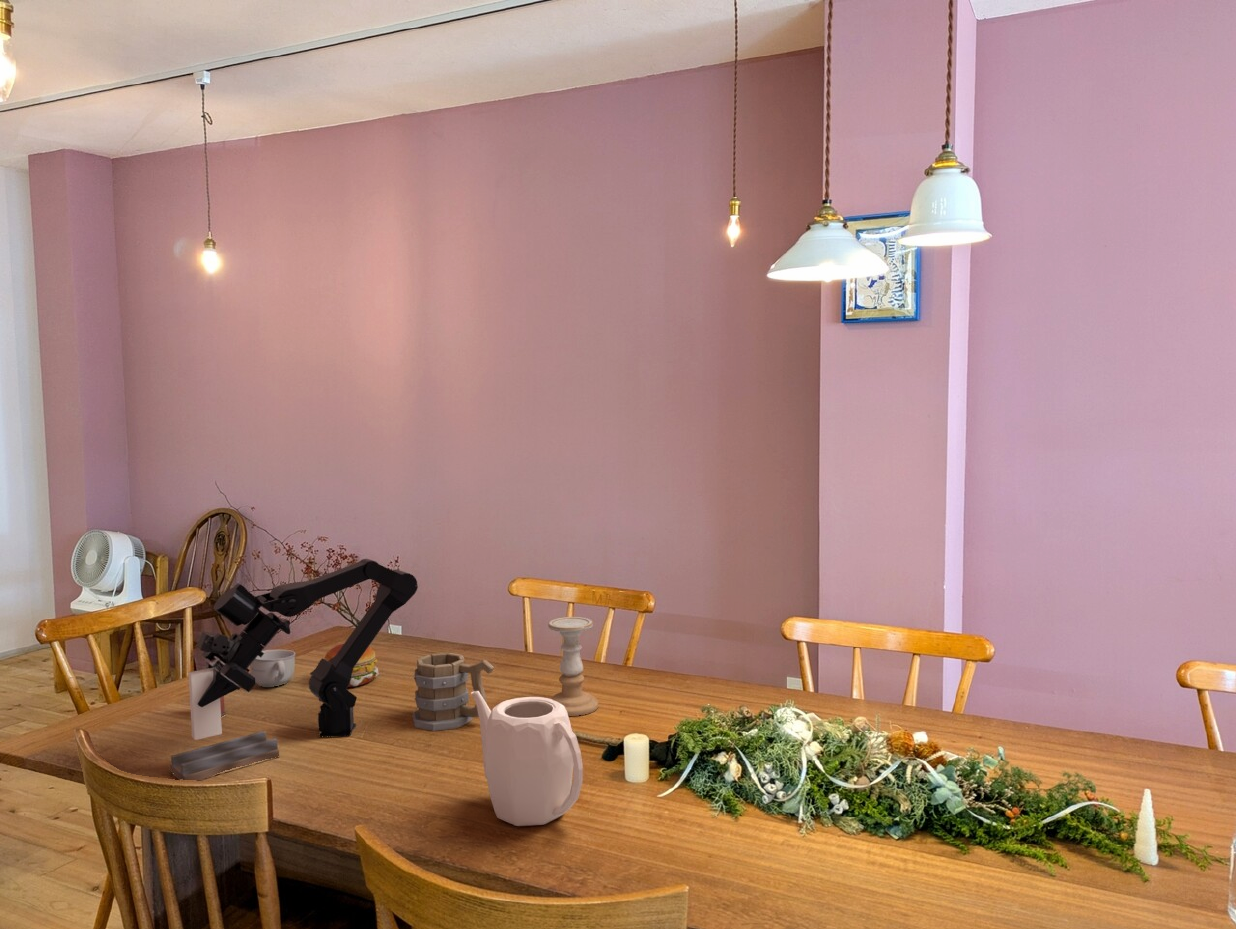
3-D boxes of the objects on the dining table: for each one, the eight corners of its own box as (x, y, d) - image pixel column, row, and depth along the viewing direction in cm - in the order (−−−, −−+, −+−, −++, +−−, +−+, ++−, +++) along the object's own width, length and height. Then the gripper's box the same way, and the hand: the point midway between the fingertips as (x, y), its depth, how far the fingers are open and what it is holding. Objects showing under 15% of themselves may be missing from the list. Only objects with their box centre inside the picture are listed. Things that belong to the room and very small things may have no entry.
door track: (263, 746, 185) (262, 730, 185) (279, 757, 179) (278, 740, 179) (171, 772, 173) (170, 754, 172) (185, 784, 167) (184, 766, 167)
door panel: (219, 730, 179) (215, 667, 177) (221, 733, 177) (218, 670, 175) (192, 736, 176) (188, 672, 174) (194, 740, 174) (191, 675, 172)
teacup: (250, 681, 229) (248, 650, 228) (294, 675, 233) (293, 645, 233) (252, 697, 216) (251, 665, 216) (299, 690, 221) (298, 659, 220)
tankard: (401, 725, 196) (399, 658, 195) (438, 707, 207) (436, 644, 206) (474, 740, 187) (472, 670, 186) (509, 720, 198) (507, 654, 197)
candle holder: (575, 720, 197) (573, 631, 196) (534, 709, 205) (532, 623, 203) (609, 705, 207) (608, 620, 206) (569, 695, 214) (567, 613, 213)
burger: (320, 678, 230) (319, 640, 229) (374, 671, 236) (372, 634, 235) (327, 694, 218) (325, 654, 217) (383, 685, 224) (382, 646, 223)
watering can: (505, 775, 169) (503, 678, 168) (612, 816, 152) (610, 708, 151) (441, 805, 157) (438, 700, 156) (549, 852, 140) (546, 736, 139)
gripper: (210, 607, 184) (154, 670, 178) (235, 625, 169) (174, 694, 163) (251, 638, 189) (198, 700, 183) (279, 657, 175) (222, 725, 169)
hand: (197, 704), depth 175 cm, fingers closed on door panel, 2 cm apart
